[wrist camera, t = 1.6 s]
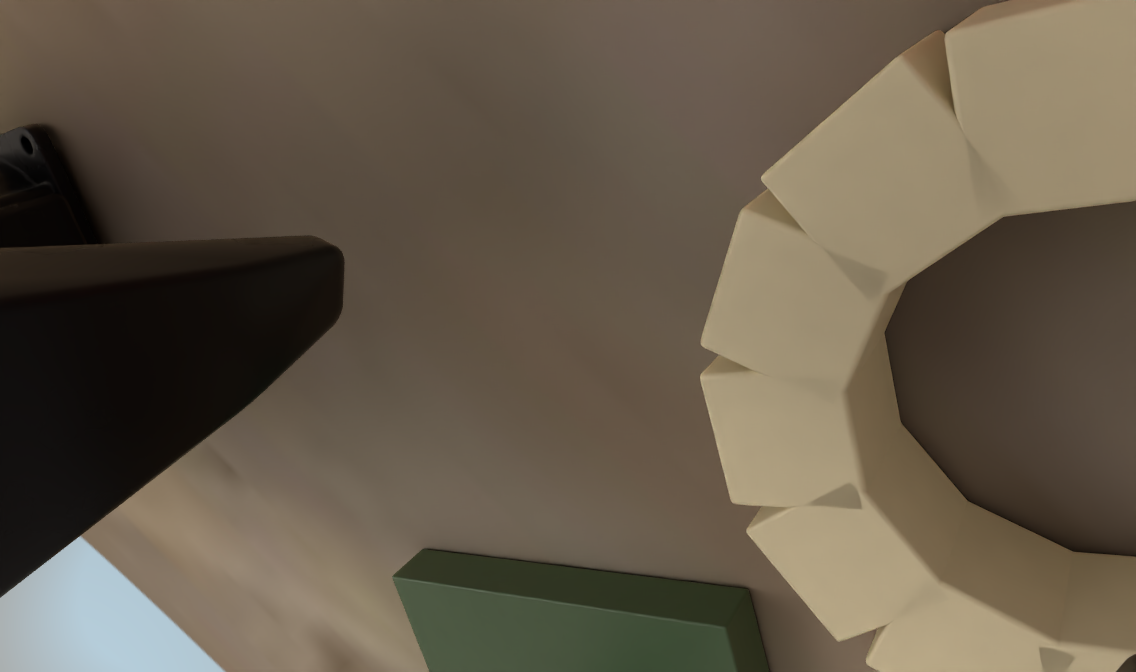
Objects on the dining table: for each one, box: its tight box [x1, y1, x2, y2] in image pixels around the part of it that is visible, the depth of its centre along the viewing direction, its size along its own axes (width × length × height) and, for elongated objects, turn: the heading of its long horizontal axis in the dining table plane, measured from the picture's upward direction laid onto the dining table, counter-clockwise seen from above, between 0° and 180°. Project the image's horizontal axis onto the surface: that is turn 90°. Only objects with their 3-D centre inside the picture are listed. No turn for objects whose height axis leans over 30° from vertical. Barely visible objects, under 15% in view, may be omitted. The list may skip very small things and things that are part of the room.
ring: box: [700, 0, 1136, 672], centre depth 11 cm, size 10×10×2 cm
